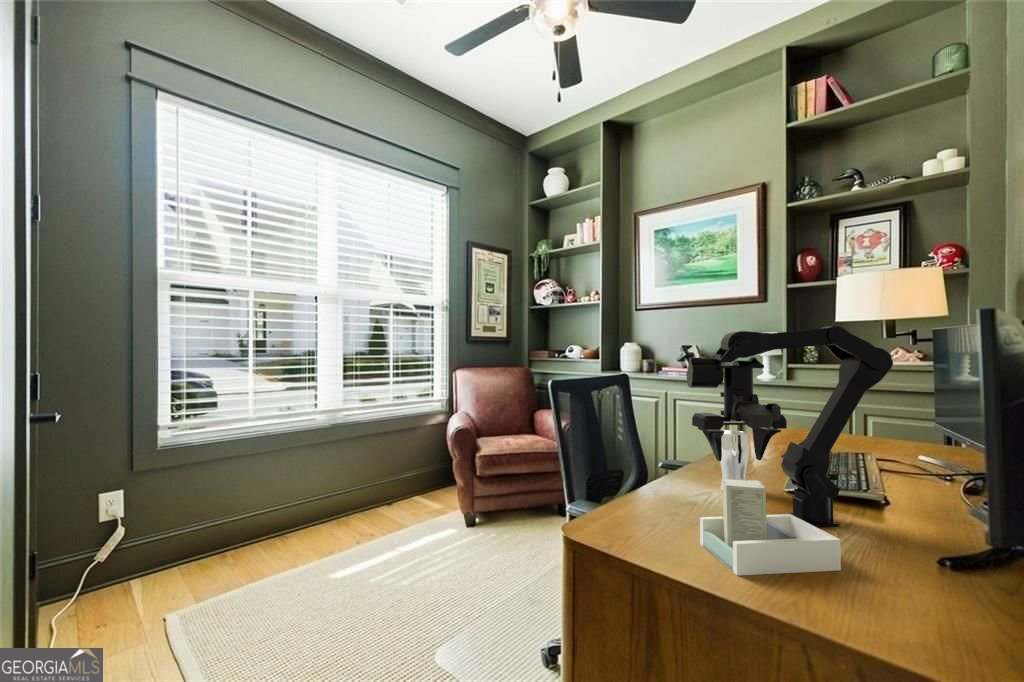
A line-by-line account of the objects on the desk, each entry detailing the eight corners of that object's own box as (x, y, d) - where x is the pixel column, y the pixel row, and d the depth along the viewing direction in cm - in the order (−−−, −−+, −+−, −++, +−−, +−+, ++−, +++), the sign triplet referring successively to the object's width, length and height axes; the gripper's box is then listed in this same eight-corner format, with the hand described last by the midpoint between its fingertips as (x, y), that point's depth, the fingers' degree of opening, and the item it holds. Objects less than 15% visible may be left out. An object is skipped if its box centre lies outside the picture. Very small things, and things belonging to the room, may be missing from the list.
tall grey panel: (763, 539, 79) (763, 518, 79) (797, 561, 71) (796, 537, 71) (758, 539, 79) (758, 518, 79) (791, 561, 71) (791, 537, 71)
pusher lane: (790, 540, 81) (790, 514, 81) (840, 570, 70) (840, 539, 70) (700, 544, 79) (699, 517, 79) (736, 575, 68) (736, 543, 68)
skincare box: (761, 549, 76) (761, 480, 76) (768, 561, 71) (767, 488, 72) (722, 544, 77) (721, 477, 78) (726, 555, 73) (726, 484, 73)
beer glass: (753, 496, 106) (752, 435, 106) (722, 494, 107) (722, 434, 108) (743, 487, 113) (743, 430, 113) (715, 485, 114) (715, 429, 114)
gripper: (719, 392, 85) (720, 471, 85) (806, 392, 87) (807, 469, 86) (690, 387, 96) (691, 457, 96) (768, 387, 98) (769, 456, 97)
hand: (739, 460), depth 93 cm, fingers open, 9 cm apart
